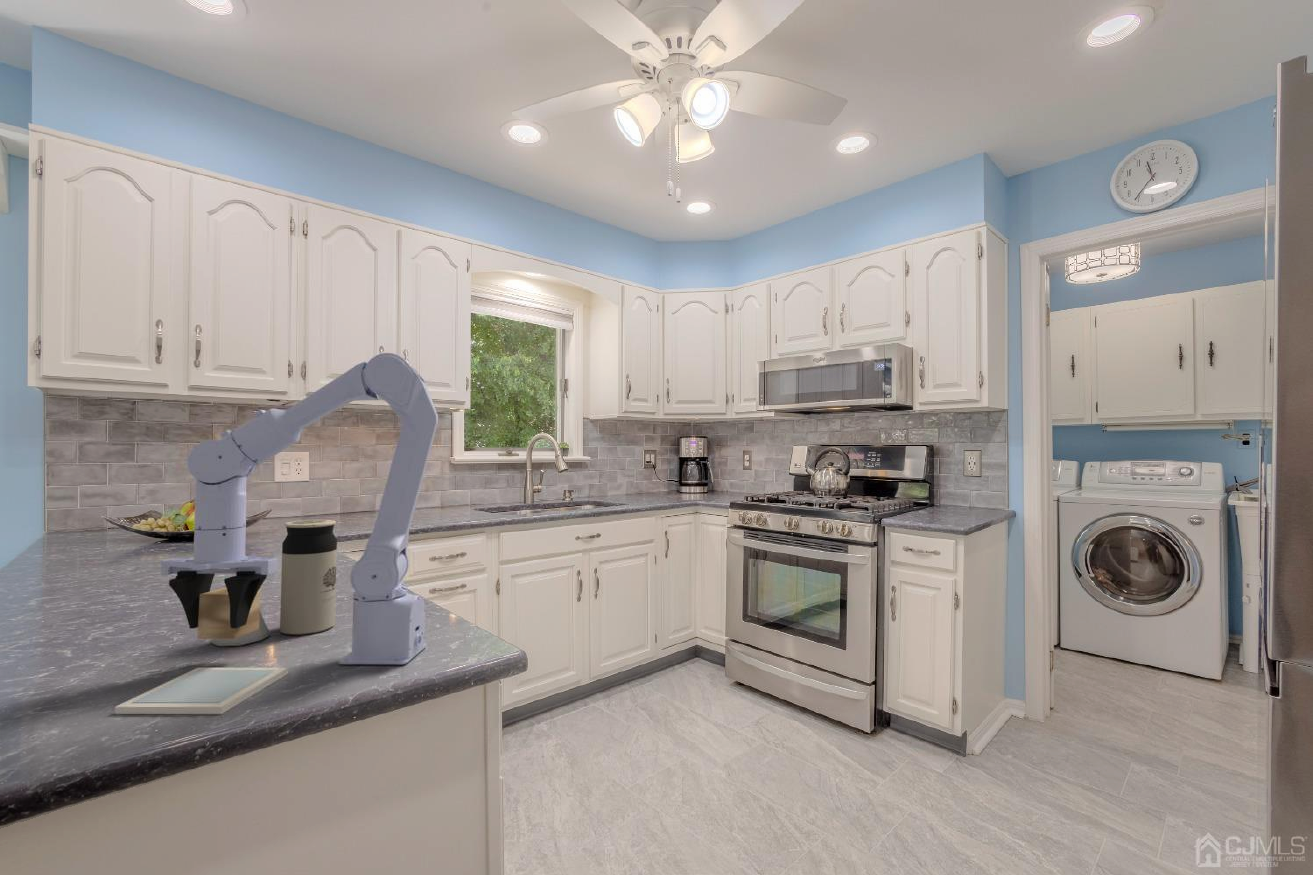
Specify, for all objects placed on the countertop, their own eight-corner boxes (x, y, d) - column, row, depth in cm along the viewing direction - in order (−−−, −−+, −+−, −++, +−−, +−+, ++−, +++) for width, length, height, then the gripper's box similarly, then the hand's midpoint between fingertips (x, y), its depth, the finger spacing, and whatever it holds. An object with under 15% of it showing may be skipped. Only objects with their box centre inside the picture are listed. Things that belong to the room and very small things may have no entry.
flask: (239, 649, 87) (241, 583, 87) (199, 646, 88) (202, 580, 88) (279, 635, 94) (281, 573, 94) (242, 632, 95) (244, 571, 96)
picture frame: (287, 673, 77) (287, 666, 77) (221, 713, 65) (222, 705, 65) (197, 673, 77) (197, 666, 77) (114, 713, 65) (115, 705, 65)
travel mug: (267, 634, 94) (271, 523, 95) (307, 620, 102) (309, 518, 102) (308, 637, 92) (311, 525, 93) (345, 623, 100) (348, 520, 101)
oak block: (258, 628, 84) (260, 587, 84) (234, 638, 79) (236, 594, 79) (224, 628, 84) (226, 587, 84) (197, 638, 79) (199, 594, 79)
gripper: (142, 531, 76) (139, 635, 75) (253, 531, 76) (251, 635, 75) (185, 524, 83) (182, 619, 82) (287, 524, 83) (285, 619, 82)
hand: (218, 626), depth 79 cm, fingers closed on oak block, 5 cm apart
